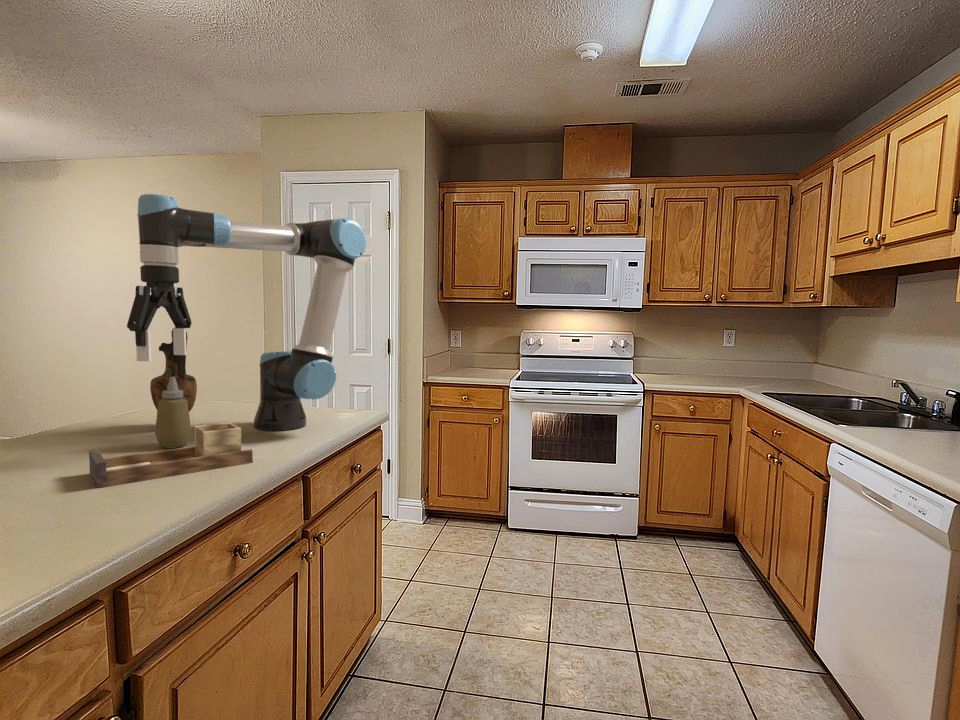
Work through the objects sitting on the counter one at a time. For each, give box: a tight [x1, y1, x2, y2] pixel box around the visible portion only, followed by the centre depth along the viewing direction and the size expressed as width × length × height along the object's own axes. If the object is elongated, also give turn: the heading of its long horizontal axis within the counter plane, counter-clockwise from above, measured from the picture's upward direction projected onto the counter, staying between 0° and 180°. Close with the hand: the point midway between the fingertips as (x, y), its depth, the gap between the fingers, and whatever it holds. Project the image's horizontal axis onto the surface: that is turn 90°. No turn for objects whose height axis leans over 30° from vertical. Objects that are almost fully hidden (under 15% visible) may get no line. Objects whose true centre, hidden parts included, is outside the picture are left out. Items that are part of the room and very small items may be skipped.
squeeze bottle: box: [154, 377, 192, 449], centre depth 134 cm, size 8×8×18 cm
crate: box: [194, 422, 242, 457], centre depth 123 cm, size 8×7×7 cm
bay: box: [88, 445, 254, 489], centre depth 117 cm, size 30×11×5 cm, turn 133°
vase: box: [149, 326, 198, 413], centre depth 152 cm, size 12×12×30 cm
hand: (163, 358), depth 121 cm, fingers open, 13 cm apart
